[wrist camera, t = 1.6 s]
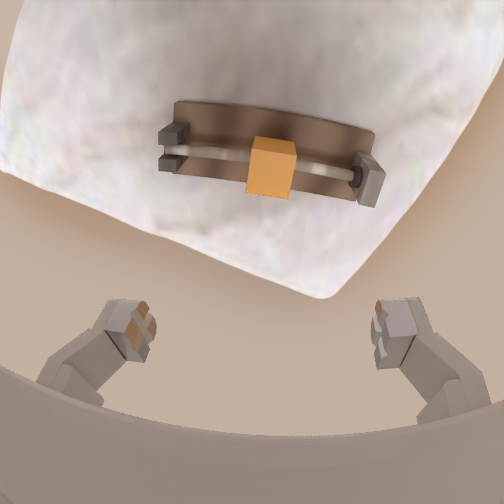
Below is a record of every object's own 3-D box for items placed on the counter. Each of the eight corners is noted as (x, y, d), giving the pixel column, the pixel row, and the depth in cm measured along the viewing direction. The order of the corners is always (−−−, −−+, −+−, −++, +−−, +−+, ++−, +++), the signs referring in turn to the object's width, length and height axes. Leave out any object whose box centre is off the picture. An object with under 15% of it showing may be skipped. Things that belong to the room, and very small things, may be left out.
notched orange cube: (250, 172, 31) (245, 192, 27) (255, 134, 28) (251, 148, 24) (286, 178, 31) (287, 199, 27) (294, 141, 28) (296, 156, 24)
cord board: (176, 169, 35) (155, 195, 29) (178, 101, 30) (153, 112, 24) (352, 196, 36) (367, 227, 30) (371, 131, 30) (393, 151, 24)
